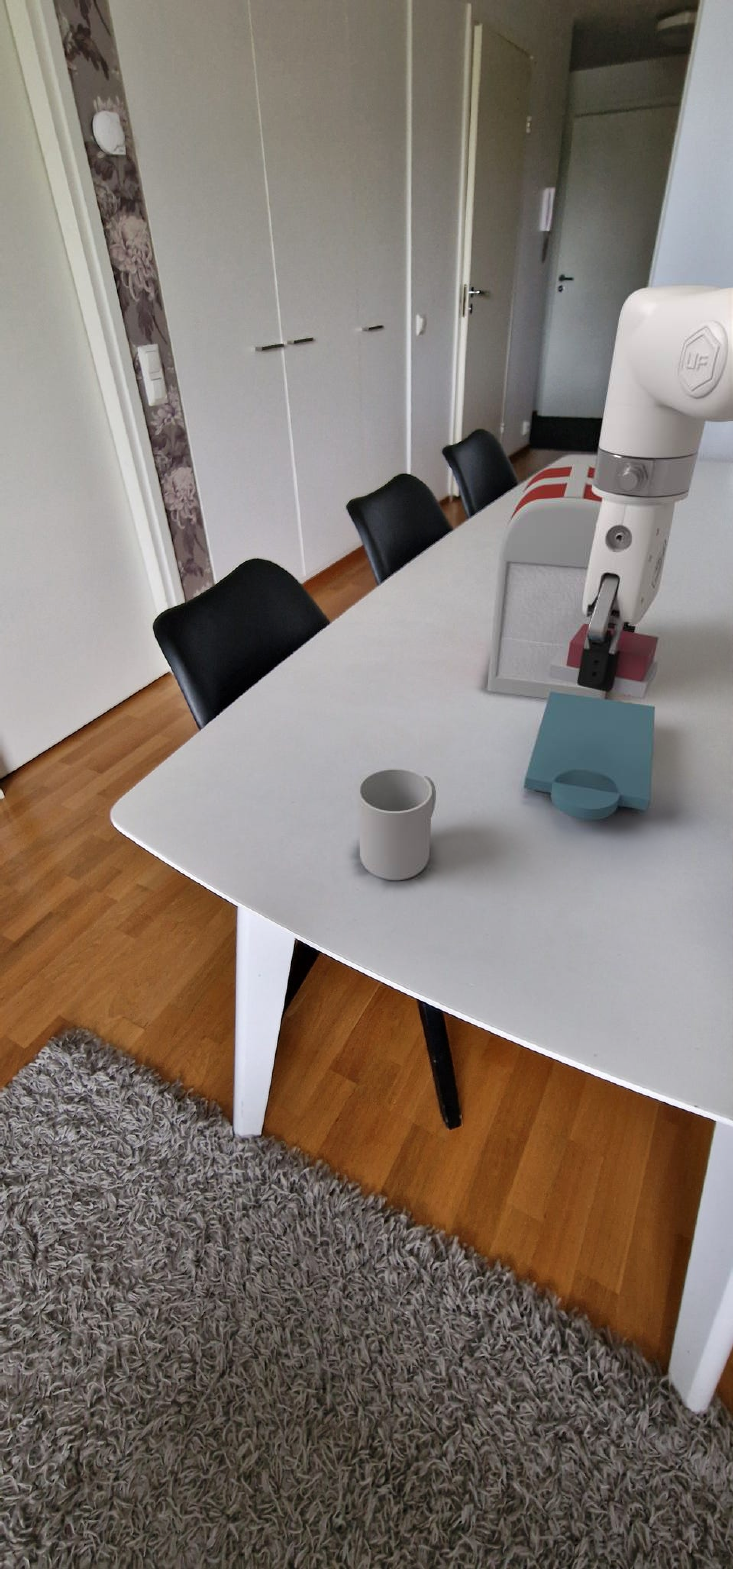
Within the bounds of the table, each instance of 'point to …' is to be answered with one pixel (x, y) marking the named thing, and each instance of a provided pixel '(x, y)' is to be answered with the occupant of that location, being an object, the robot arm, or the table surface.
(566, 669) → the maroon block on base
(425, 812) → the cup
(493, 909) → the table surface
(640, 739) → the board
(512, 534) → the red-striped rounded block
